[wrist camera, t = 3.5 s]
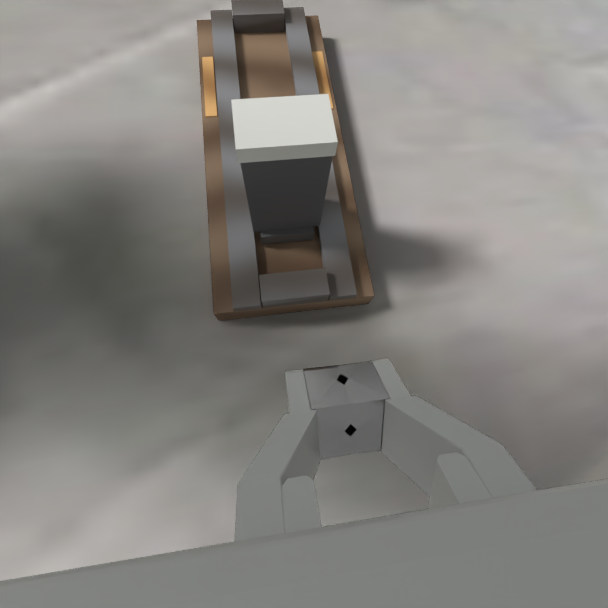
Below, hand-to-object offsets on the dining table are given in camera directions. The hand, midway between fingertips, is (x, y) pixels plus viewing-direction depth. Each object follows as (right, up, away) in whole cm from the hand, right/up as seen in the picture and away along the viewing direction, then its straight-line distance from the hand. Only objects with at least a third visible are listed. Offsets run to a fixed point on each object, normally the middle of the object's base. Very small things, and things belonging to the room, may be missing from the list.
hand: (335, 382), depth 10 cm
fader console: (-4, +16, +22) cm, 27 cm away
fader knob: (-2, +9, +17) cm, 19 cm away
